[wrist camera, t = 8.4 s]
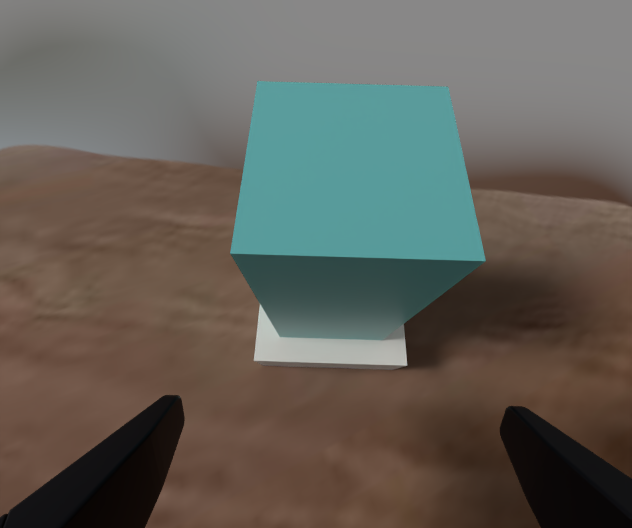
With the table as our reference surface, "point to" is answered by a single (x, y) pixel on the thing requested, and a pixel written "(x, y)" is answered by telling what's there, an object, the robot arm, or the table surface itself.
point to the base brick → (328, 350)
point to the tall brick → (353, 207)
